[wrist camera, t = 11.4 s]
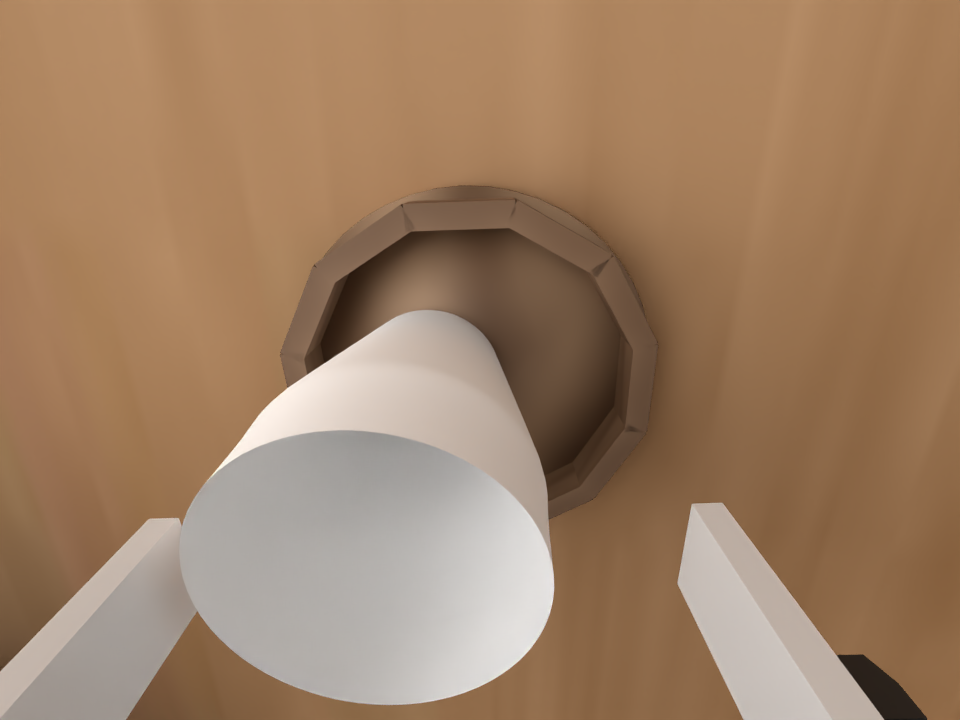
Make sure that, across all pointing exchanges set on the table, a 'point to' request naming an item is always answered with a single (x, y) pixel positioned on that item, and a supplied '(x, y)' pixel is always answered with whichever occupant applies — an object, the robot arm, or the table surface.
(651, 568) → the table surface
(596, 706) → the table surface
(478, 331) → the cup
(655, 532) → the table surface
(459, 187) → the round tray
